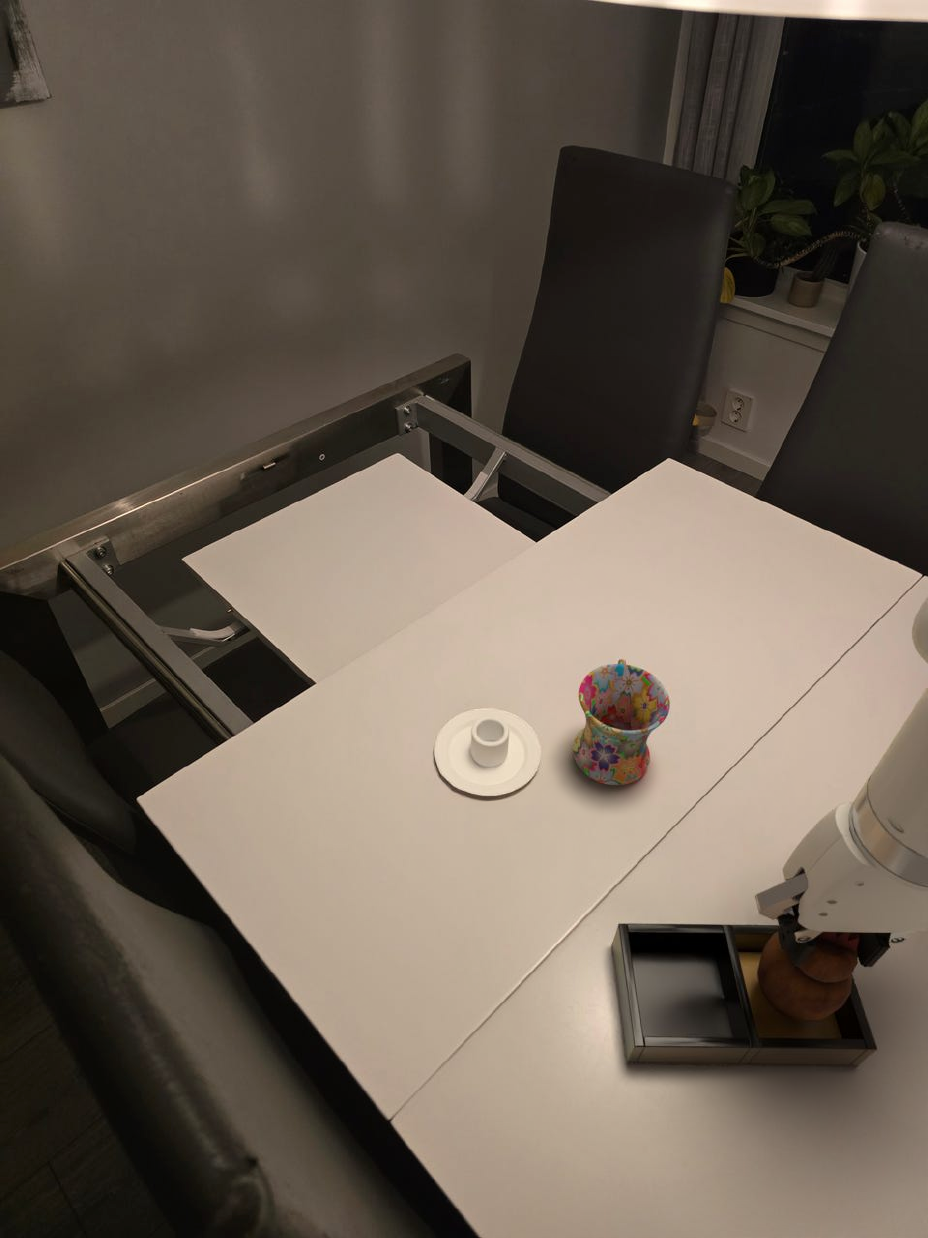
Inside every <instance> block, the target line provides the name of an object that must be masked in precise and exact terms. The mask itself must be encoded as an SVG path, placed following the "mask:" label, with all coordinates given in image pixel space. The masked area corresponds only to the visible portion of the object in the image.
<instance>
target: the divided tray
mask: <svg viewBox="0 0 928 1238" xmlns="http://www.w3.org/2000/svg"><path fill="white" fill-rule="evenodd" d="M780 927H781V926H780V925H779V924H724V923H723V924H720V923H719V924H714V923H713V924H711V923H709V924H708V923H707V924H706V923H638V922H637V923H632V922H631V923H630V922H629V923H620V922H619V923H618V924H617V927H616V930H615V934H614V936H613V939H612V942H611V944H610V945H611V952H612V953H611V954H612V961H613V969H614V976H615V985H616V993H617V1000H618V1009H619V1017H620V1026H621V1032H622V1041H623V1049H624V1056H625V1064H626V1065H645V1066H647V1065H654V1066H655V1065H656V1066H725V1067H726V1066H727V1067H728V1066H732V1067H735V1066H737V1067H748V1066H749V1067H815V1068H817V1067H818V1068H857V1067H859V1066H860V1065H861V1064H863V1063H864V1062H865V1061H866V1060H867V1059H868V1058H870V1057H871V1056H872V1055H873V1054H874V1053H875V1052H876V1051H878V1047H877V1044H876V1041H875V1038H874V1035H873V1032H872V1029H871V1025H870V1023H869V1019H868V1017H867V1014H866V1011H865V1009H864V1008H865V1007H864V1005H863V1002H862V999H861V996H860V993H859V991H858V987H857V984H856V981H855V978H854V975H853V974H852V987H851V993H850V995H849V996H848V998H847V1000H846V1001H845V1003H844V1004H843V1005H842V1006H841V1007H840V1008H839V1009H838V1010H837V1011H835V1012H834V1013H832V1014H831V1015H829V1016H828V1017H826V1018H824V1019H822V1020H820V1021H817V1022H800V1021H796V1020H794V1019H791V1018H788V1017H786V1016H784V1015H783V1014H781V1013H780V1012H778V1011H777V1010H776V1009H775V1008H774V1007H773V1006H772V1005H771V1004H770V1003H769V1002H768V1000H767V999H766V997H765V996H764V994H763V993H762V991H761V988H760V984H759V981H758V976H757V971H758V966H759V962H760V958H761V954H762V951H763V949H764V947H765V946H766V944H767V943H768V941H769V940H770V939H771V937H772V936H773V934H775V933H776V932H778V931H779V929H780Z"/></svg>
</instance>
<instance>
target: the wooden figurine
mask: <svg viewBox="0 0 928 1238" xmlns="http://www.w3.org/2000/svg"><path fill="white" fill-rule="evenodd" d="M850 933H851V932H822V933H821V934H819V935H818V936H817V937H815V942H816V947H815V948H814V949H813V951H812V952H811V953H810V955H809V956H808V957H807V959H806V960H805V961H804V963H803V964H802V965H800V966H791V963H790V960H789V956H788V953H787V951H784V950H782V948H781V945H780V942H779V937H778V932H776V933H775V934H773V936H772V937H771V939H770V940H769V941H768V943H767V944H766V946H765V947H764V949H763V951H762V954H761V958H760V962H759V966H758V971H757V976H758V981H759V984H760V988H761V991H762V993H763V994H764V996H765V997H766V999H767V1000H768V1002H769V1003H770V1004H771V1005H772V1006H773V1007H774V1008H775V1009H776V1010H777V1011H778V1012H780V1013H781V1014H783V1015H784V1016H786V1017H788V1018H791V1019H794V1020H796V1021H800V1022H817V1021H820V1020H822V1019H824V1018H826V1017H828V1016H829V1015H831V1014H832V1013H834V1012H835V1011H837V1010H838V1009H839V1008H840V1007H841V1006H842V1005H843V1004H844V1003H845V1001H846V1000H847V998H848V996H849V995H850V993H851V987H852V975H853V973H854V971H855V969H856V968H857V965H858V963H859V959H858V947H857V946H858V943H859V935H858V934H853V935H851V934H850Z"/></svg>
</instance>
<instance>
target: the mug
mask: <svg viewBox="0 0 928 1238" xmlns="http://www.w3.org/2000/svg"><path fill="white" fill-rule="evenodd" d="M578 701H579V704H580V707H581V709H582V711H583V713H584V717H585V725H584V728H582V729H581V730H580V731H579V732H578V734H577V735H576V737H575V739H574V742H573V746H572V751H573V757H574V760H575V762H576V764H577V766H578V767H579V769H580V770H581V771H582V772H583V773H584V774H585V775H586V776H587V777H589V778H591V779H592V780H595V781H596V782H598V783H601V784H605V785H608V786H624V785H628V784H631V783H634V782H636V781H637V780H639V779H640V778H641V777H642V776H644V774H645V773H646V772H647V770H648V768H649V765H650V761H651V754H650V749H649V746H648V744H647V743H648V742H647V741H648V738H649V737H650V735H651V734H652V732H653V731H654V730H656V729H657V728H659V727H660V726H661V725H662V724H663V723H664V722H665V720H666V719H667V717H668V714H669V712H670V707H671V706H670V705H671V704H670V703H671V701H670V697H669V693H668V690H666V688H665V686H664V684H663V683H662V682H661V680H659V679H658V678H657V677H656V676H654V675H653V674H651V673H650V672H649V671H647V670H645V669H642V668H640V667H637V666H634V665H630V664H627V662H626V659H622V658H621V659H619V660H618V661H617V663H612V664H606V665H601V666H599V667H597V668H595V669H593V670H591V671H590V672H589V673H587V675H586V676H585V677H584V678H583V679H582V681H581V682H580V684H579V688H578Z"/></svg>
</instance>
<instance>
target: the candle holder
mask: <svg viewBox="0 0 928 1238" xmlns="http://www.w3.org/2000/svg"><path fill="white" fill-rule="evenodd" d="M436 736H437V737H436V738H435V741H434V747H433V748H434V749H433V755H434V760H435V764H436V767H437V769H438V772H439V773H440V775H441V776H442V777H443V778H444V779H445V780H446V781H447V782H448V783H449V784H450V785H451V786H453V787H454V788H456V789H457V790H460V791H462V792H465V793H468V794H472V795H475V796H483V797H497V796H502V795H508V794H510V793H513V792H514V791H517V790H519V789H520V788H522V787H524V786H525V785H527V783H528V782H530V780H531V779H533V777H534V776H535V775H536V773H537V771H538V769H539V767H540V764H541V760H542V747H541V742H540V740H539V737H538V735H537V733H536V732H535V730H534V729H533V728H532V726H531V725H530V724H529V723H528V722H527V721H526V720H525V719H523V718H521V717H520V716H518V715H517V714H514V713H512V712H509V711H507V710H504V709H500V708H494V707H481V708H474V709H473V708H472V709H470V710H466V711H463V712H461V713H458V714H457V715H455V716H453V717H452V718H451V719H449V720H448V721H447V722H446V723H445V724H444V725H443V726H442V727H441V729H440V730H439V732H438V734H437V735H436Z"/></svg>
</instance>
